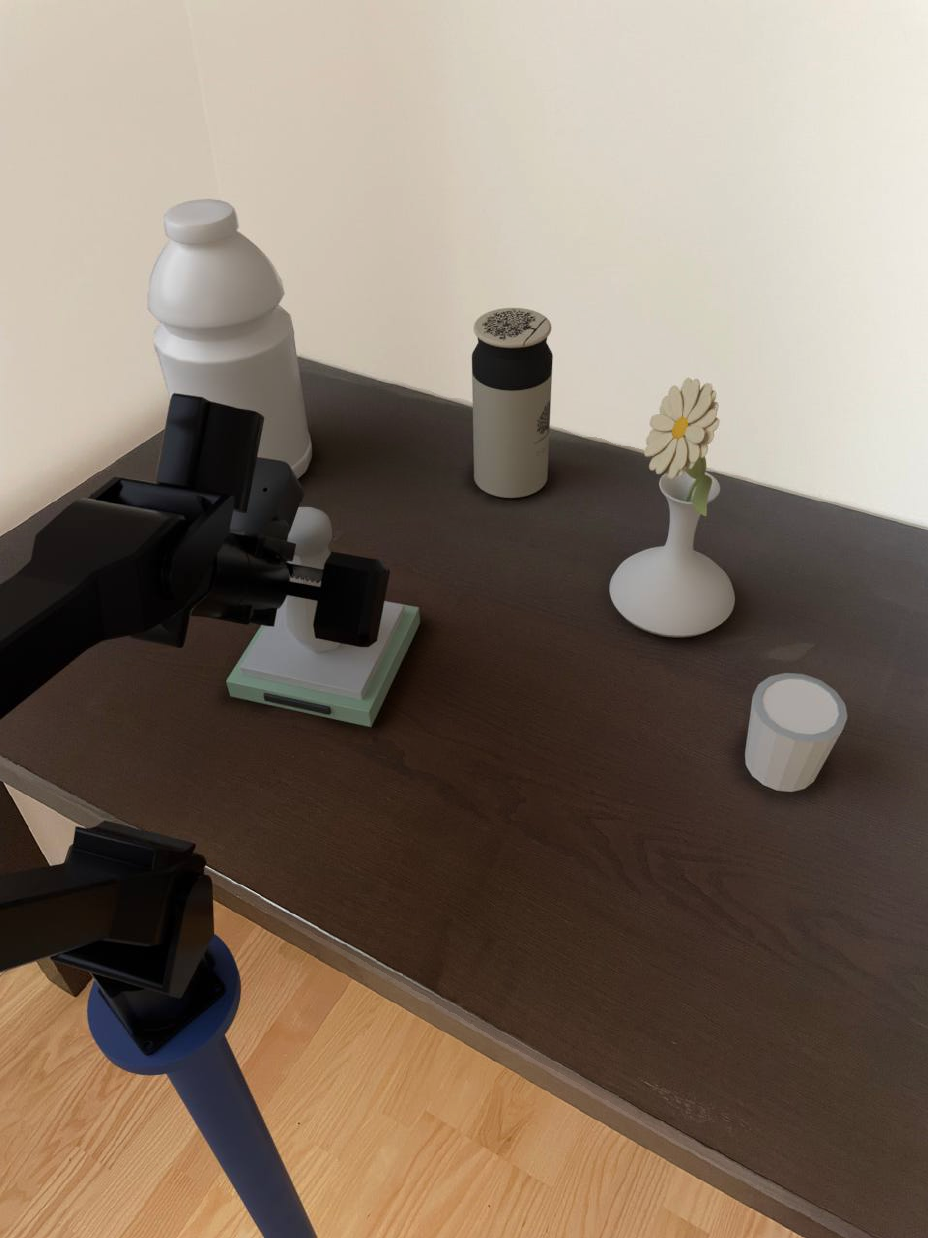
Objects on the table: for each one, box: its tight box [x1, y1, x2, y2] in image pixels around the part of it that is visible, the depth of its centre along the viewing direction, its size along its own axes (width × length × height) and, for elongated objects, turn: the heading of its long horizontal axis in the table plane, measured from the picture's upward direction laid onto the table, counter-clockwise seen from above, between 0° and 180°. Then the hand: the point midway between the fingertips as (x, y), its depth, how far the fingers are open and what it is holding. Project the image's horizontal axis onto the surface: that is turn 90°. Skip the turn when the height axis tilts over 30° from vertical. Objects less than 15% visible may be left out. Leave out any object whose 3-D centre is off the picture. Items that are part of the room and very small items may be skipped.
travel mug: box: [471, 307, 554, 499], centre depth 100 cm, size 8×8×18 cm
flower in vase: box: [609, 377, 736, 638], centre depth 82 cm, size 13×11×25 cm
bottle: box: [146, 198, 313, 480], centre depth 99 cm, size 14×14×28 cm
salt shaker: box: [286, 506, 341, 653], centre depth 80 cm, size 6×6×13 cm
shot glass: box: [744, 672, 849, 793], centre depth 75 cm, size 7×7×7 cm
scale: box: [225, 597, 421, 728], centre depth 86 cm, size 13×13×3 cm
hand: (301, 590), depth 78 cm, fingers open, 9 cm apart
